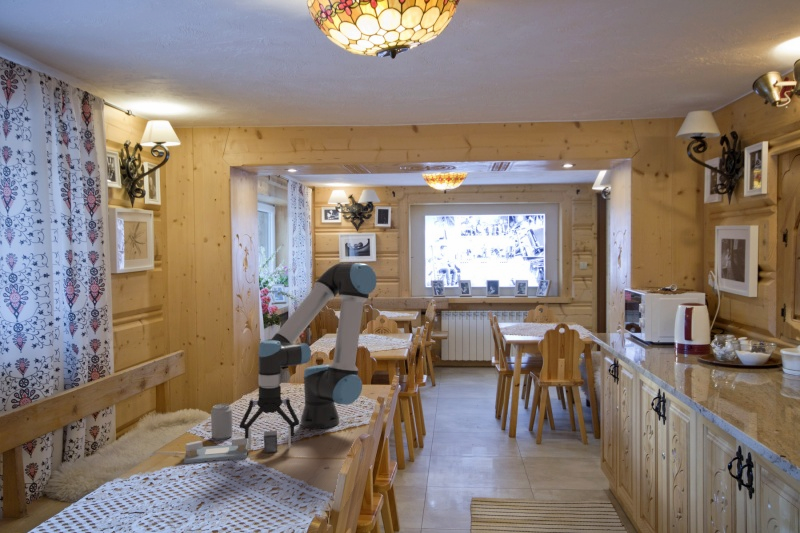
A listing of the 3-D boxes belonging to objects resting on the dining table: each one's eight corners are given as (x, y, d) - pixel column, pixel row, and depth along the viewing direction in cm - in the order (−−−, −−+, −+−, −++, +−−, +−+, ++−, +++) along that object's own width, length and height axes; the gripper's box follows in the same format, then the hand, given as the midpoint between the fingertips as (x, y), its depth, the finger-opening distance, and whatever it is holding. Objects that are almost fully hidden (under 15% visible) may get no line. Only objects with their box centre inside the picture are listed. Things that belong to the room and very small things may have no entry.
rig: (248, 446, 214) (247, 432, 213) (246, 458, 202) (246, 443, 202) (188, 451, 210) (187, 437, 209) (183, 463, 198) (182, 448, 198)
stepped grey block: (264, 447, 212) (264, 430, 212) (277, 446, 213) (276, 429, 213) (264, 454, 206) (263, 436, 205) (277, 452, 207) (276, 435, 206)
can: (226, 441, 220) (225, 408, 220) (207, 440, 222) (206, 407, 221) (236, 434, 228) (235, 403, 227) (218, 433, 229) (217, 402, 229)
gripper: (305, 382, 215) (305, 440, 215) (233, 384, 210) (233, 445, 210) (306, 386, 207) (306, 447, 208) (231, 389, 202) (231, 452, 203)
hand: (269, 446), depth 209 cm, fingers open, 13 cm apart
